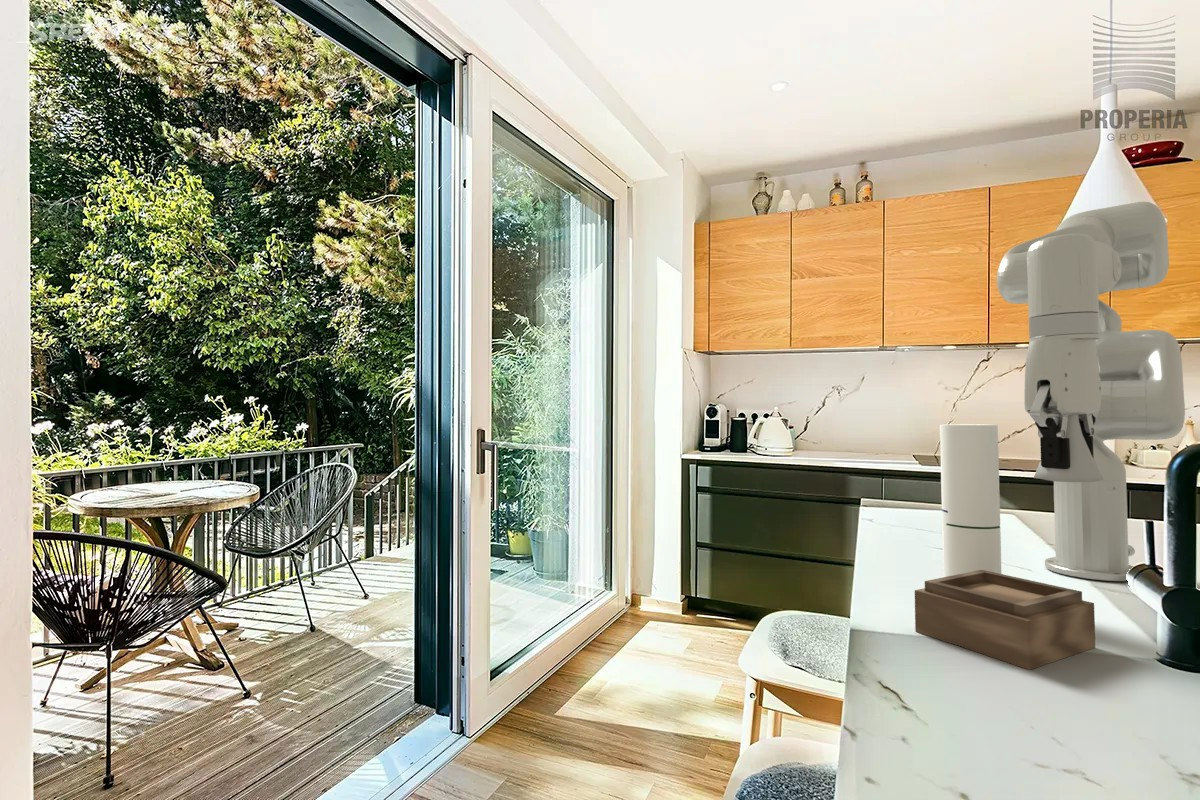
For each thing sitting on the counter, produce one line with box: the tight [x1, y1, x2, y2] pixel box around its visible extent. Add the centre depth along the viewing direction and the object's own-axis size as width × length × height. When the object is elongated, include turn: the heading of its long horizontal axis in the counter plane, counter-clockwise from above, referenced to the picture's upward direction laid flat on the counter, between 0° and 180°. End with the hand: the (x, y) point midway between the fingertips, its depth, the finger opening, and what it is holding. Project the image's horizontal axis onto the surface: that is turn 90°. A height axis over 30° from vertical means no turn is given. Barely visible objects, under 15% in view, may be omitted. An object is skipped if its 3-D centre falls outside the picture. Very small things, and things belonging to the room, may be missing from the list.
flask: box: [1033, 412, 1103, 482], centre depth 82 cm, size 7×7×10 cm
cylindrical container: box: [939, 423, 1002, 578], centre depth 88 cm, size 7×7×25 cm
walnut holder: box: [914, 570, 1096, 671], centre depth 73 cm, size 13×13×6 cm
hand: (1067, 465), depth 82 cm, fingers closed on flask, 4 cm apart
